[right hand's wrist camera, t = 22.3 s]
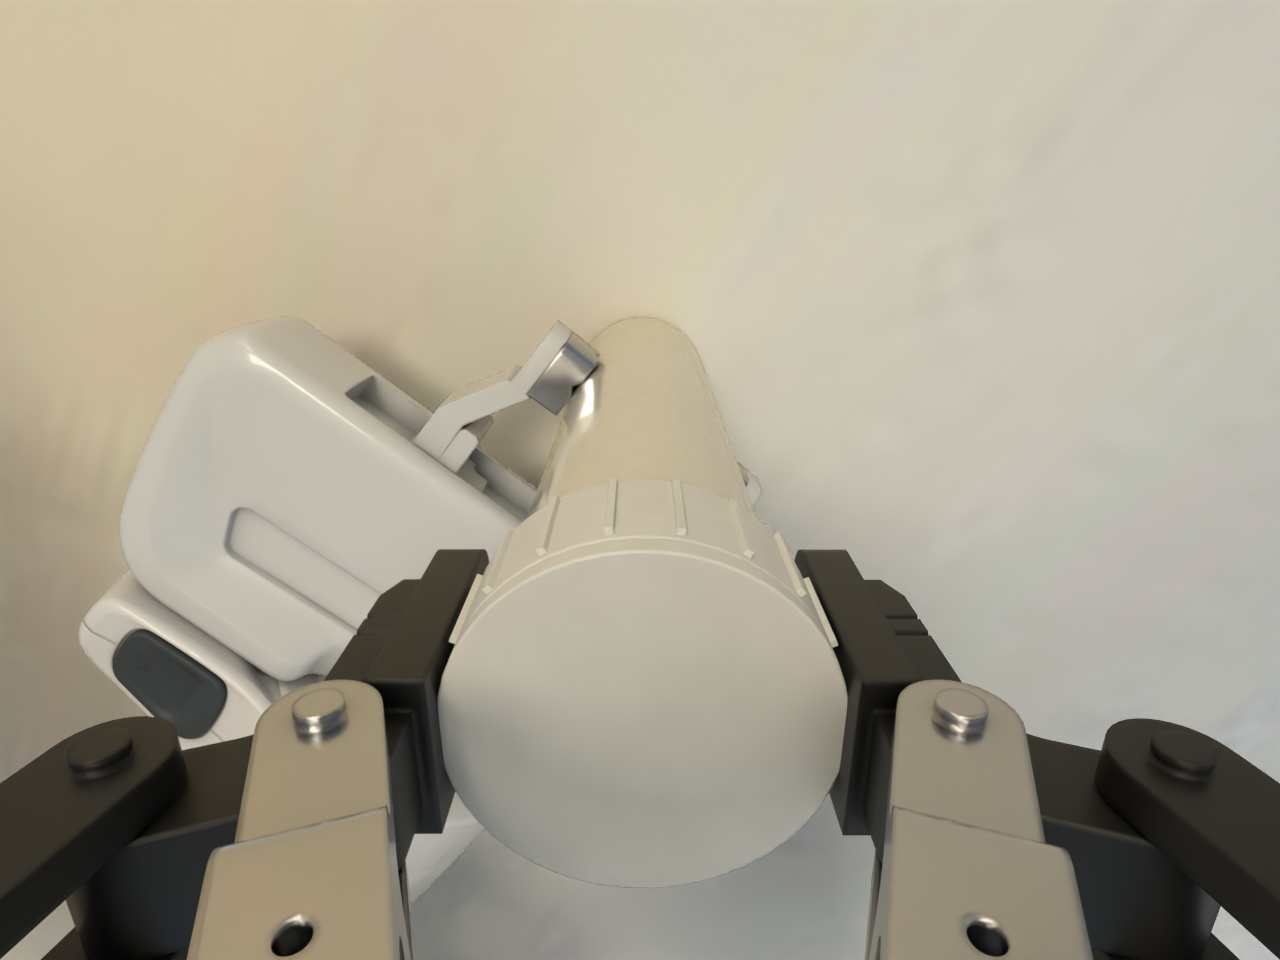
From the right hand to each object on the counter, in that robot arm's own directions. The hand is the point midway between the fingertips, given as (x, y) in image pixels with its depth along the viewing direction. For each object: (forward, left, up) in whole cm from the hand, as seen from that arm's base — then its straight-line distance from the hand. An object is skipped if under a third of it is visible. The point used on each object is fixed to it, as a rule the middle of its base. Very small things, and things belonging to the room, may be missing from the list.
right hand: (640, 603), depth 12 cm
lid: (0, 0, +3) cm, 3 cm away
